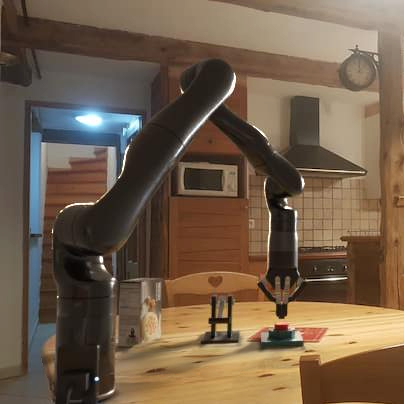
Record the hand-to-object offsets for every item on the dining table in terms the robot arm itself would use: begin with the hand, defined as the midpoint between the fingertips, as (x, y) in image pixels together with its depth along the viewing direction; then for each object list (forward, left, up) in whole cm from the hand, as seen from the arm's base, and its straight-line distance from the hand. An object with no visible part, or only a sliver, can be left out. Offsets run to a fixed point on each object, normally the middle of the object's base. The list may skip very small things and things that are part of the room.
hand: (281, 318), depth 130 cm
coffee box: (+8, +35, -7) cm, 37 cm away
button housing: (0, 0, -7) cm, 7 cm away
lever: (+3, +15, +1) cm, 15 cm away
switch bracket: (+7, +15, -7) cm, 18 cm away
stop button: (0, 0, -3) cm, 3 cm away
